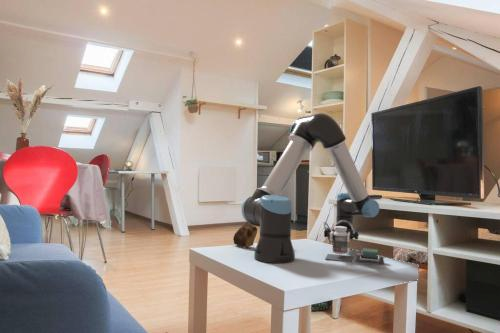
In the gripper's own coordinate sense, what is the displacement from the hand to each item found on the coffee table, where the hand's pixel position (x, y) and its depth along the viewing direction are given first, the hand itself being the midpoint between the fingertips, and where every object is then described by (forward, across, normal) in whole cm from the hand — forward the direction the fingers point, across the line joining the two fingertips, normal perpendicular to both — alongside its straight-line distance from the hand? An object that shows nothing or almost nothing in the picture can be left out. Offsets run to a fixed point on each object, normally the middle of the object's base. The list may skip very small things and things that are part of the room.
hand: (339, 237), depth 140 cm
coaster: (-5, 0, -9) cm, 10 cm away
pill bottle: (-5, 0, -7) cm, 8 cm away
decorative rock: (-12, +41, -9) cm, 44 cm away
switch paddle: (-3, -11, -7) cm, 13 cm away
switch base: (-3, -11, -9) cm, 14 cm away
